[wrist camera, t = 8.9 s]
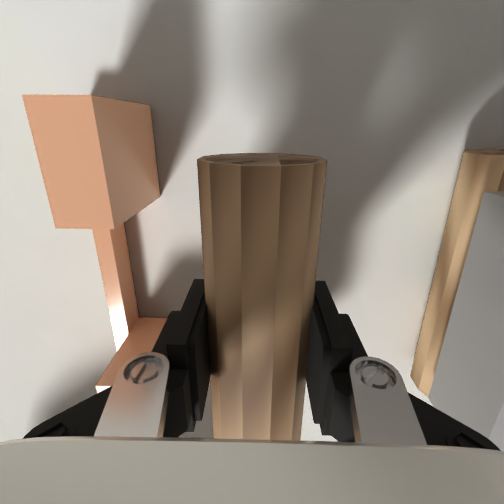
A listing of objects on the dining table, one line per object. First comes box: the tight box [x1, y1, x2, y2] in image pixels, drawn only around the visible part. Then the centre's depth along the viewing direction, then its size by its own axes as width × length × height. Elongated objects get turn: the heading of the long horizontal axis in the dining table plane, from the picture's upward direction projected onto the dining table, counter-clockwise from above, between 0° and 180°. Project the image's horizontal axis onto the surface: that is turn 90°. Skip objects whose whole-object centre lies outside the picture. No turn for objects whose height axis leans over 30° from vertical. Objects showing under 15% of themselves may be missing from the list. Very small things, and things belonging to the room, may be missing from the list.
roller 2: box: [411, 149, 504, 397], centre depth 14 cm, size 12×4×4 cm, turn 1°
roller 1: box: [197, 153, 327, 441], centre depth 11 cm, size 12×4×4 cm, turn 0°
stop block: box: [22, 95, 167, 393], centre depth 14 cm, size 15×3×5 cm, turn 0°
